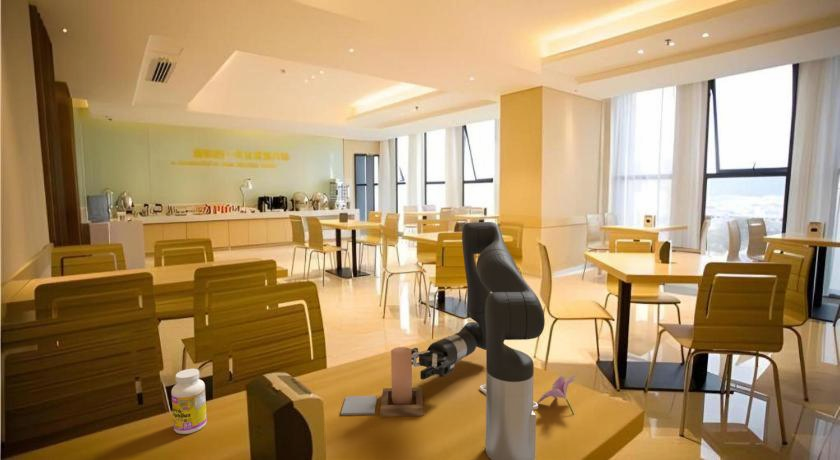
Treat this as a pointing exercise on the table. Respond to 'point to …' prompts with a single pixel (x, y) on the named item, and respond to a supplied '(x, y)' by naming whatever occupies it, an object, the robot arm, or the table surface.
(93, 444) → the table surface
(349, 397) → the mat
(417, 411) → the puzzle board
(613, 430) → the table surface
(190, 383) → the supplement bottle
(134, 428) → the table surface
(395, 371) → the post
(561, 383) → the lily
